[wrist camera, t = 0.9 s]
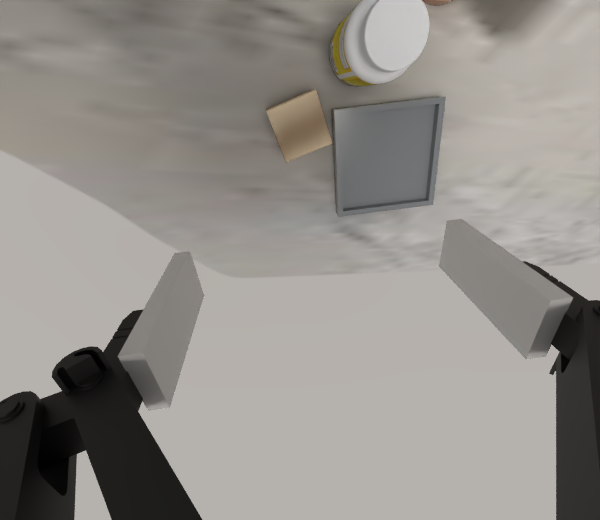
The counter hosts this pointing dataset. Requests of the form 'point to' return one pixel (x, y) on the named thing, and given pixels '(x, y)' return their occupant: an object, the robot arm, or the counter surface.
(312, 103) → the cork block
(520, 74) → the counter surface
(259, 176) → the counter surface
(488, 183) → the counter surface
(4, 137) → the counter surface
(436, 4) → the brown egg
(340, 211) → the slate tray
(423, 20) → the pill bottle
